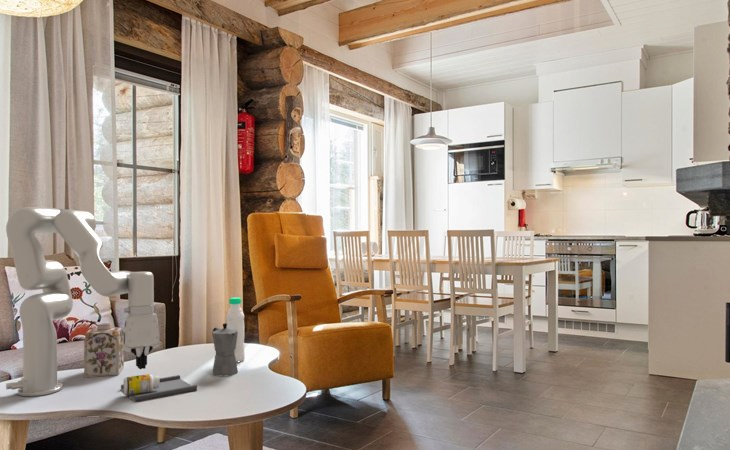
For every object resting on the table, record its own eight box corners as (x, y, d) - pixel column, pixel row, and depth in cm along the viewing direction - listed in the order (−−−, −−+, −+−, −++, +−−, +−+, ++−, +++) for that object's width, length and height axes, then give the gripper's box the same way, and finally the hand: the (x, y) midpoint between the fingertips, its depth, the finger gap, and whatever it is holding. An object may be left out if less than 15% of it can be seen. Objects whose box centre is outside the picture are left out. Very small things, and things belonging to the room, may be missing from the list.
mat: (135, 401, 165) (135, 397, 165) (121, 389, 179) (121, 384, 179) (196, 390, 177) (196, 385, 177) (179, 379, 190) (178, 375, 190)
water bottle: (224, 359, 219) (224, 297, 219) (242, 358, 222) (242, 296, 222) (228, 363, 213) (227, 299, 213) (246, 361, 216) (245, 298, 216)
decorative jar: (83, 378, 194) (83, 327, 194) (90, 370, 205) (90, 322, 205) (119, 375, 197) (119, 325, 197) (124, 367, 208) (124, 320, 208)
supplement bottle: (123, 377, 174) (157, 373, 179) (123, 395, 172) (157, 390, 177) (124, 377, 169) (159, 372, 174) (125, 395, 168) (160, 391, 173)
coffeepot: (246, 373, 197) (245, 323, 197) (222, 378, 191) (222, 327, 191) (224, 366, 208) (224, 319, 209) (201, 371, 202) (201, 322, 202)
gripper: (119, 314, 167) (119, 374, 167) (168, 309, 176) (169, 366, 176) (113, 311, 173) (113, 369, 173) (161, 307, 182) (161, 362, 182)
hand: (141, 367), depth 174 cm, fingers closed
